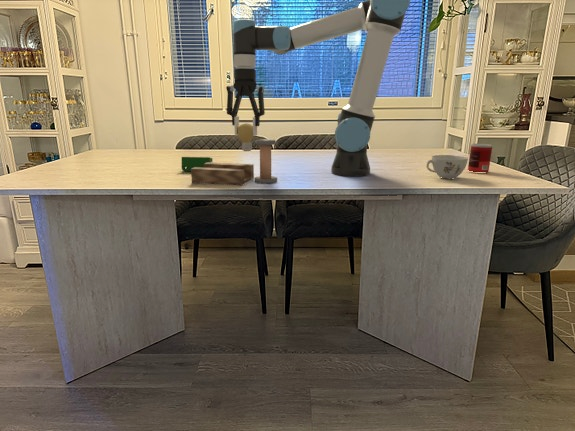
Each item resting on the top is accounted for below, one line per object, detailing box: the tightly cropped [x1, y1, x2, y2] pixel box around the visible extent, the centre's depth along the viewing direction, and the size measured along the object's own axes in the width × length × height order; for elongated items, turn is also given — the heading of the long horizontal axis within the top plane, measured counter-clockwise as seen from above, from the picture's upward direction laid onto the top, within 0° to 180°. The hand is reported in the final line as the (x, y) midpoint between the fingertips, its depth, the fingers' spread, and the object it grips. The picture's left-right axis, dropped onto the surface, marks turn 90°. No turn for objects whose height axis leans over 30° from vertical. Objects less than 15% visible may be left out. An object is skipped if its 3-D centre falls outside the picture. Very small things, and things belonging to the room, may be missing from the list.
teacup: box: [426, 154, 469, 179], centre depth 149 cm, size 15×12×8 cm
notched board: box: [190, 162, 255, 187], centre depth 143 cm, size 18×14×5 cm
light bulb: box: [237, 123, 255, 152], centre depth 148 cm, size 6×6×10 cm
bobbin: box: [253, 138, 278, 185], centre depth 140 cm, size 8×8×14 cm
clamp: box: [181, 156, 213, 173], centre depth 161 cm, size 12×6×9 cm, turn 80°
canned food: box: [467, 143, 493, 173], centre depth 161 cm, size 8×8×11 cm
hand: (246, 135), depth 148 cm, fingers closed on light bulb, 6 cm apart
